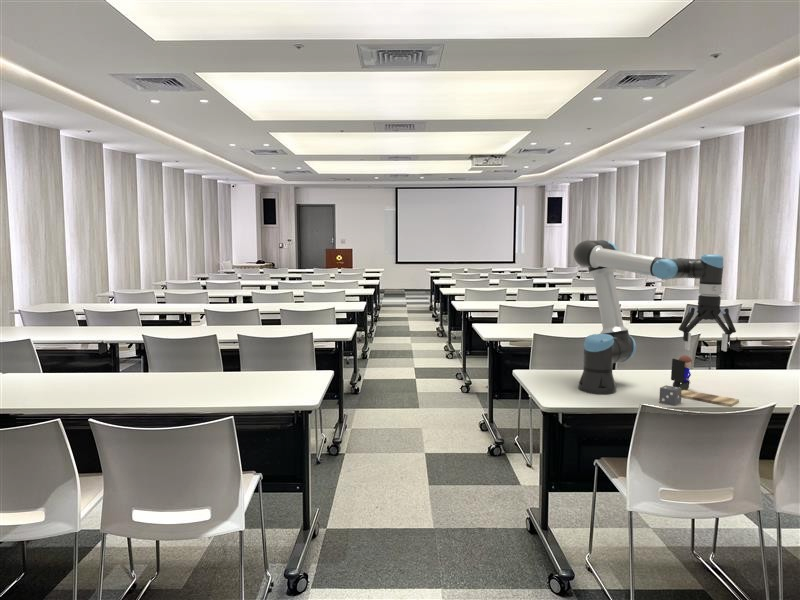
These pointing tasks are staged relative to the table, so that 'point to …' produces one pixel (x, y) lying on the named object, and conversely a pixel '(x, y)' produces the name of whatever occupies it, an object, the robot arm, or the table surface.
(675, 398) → the die
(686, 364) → the character figurine
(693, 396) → the track
